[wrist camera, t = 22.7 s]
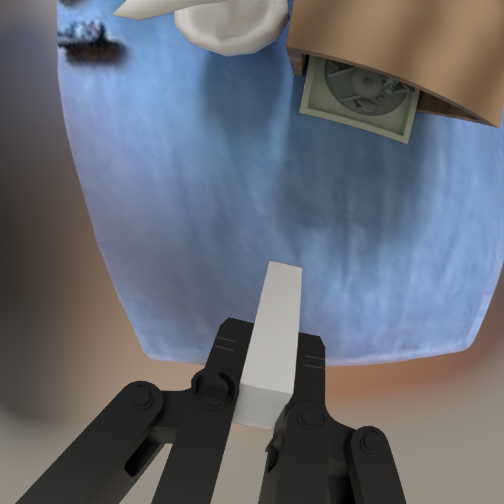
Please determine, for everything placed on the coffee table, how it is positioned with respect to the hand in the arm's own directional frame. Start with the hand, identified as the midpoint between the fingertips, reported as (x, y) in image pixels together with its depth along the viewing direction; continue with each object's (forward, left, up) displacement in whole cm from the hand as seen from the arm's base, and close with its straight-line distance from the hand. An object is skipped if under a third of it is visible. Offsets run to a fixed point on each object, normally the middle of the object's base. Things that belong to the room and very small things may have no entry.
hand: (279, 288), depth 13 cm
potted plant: (-10, +18, -27) cm, 34 cm away
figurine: (+6, +14, -26) cm, 30 cm away
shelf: (+6, +20, -26) cm, 34 cm away
